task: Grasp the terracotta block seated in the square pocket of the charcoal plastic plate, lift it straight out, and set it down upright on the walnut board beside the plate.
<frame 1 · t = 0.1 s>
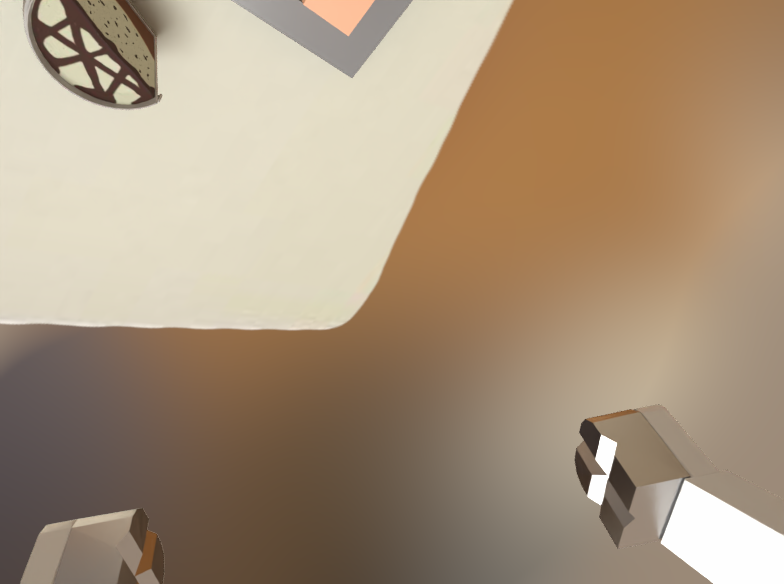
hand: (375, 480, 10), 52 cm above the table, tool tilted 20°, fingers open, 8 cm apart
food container: (93, 5, 50), on the table
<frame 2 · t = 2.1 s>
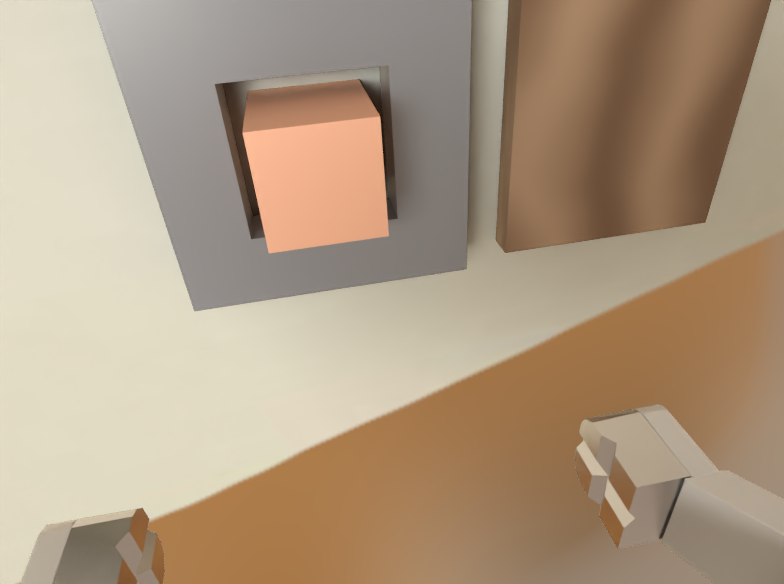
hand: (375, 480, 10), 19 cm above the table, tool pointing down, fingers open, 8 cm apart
pocket plate: (311, 139, 26), on the table
walnut board: (618, 82, 27), on the table
terracotta block: (316, 161, 24), in the pocket plate
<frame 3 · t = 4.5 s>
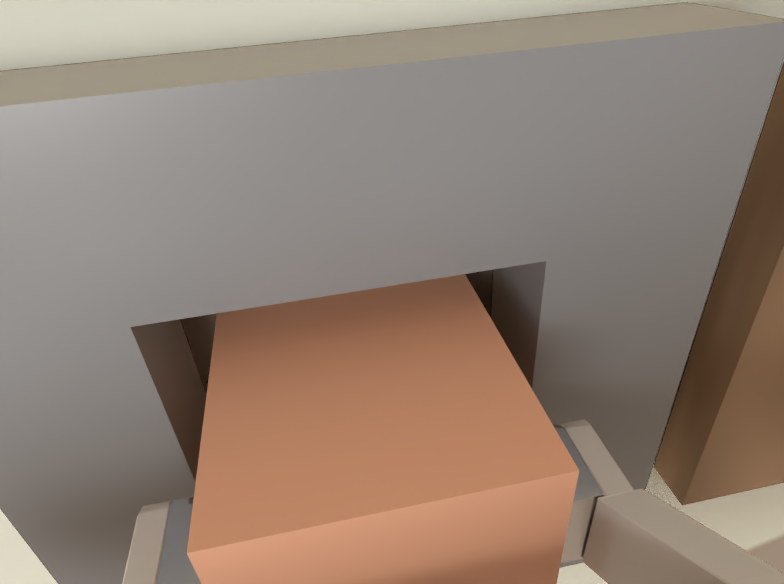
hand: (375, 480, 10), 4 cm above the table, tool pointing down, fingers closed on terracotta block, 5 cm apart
pocket plate: (350, 356, 13), on the table
terracotta block: (370, 453, 11), in the pocket plate, touching gripper
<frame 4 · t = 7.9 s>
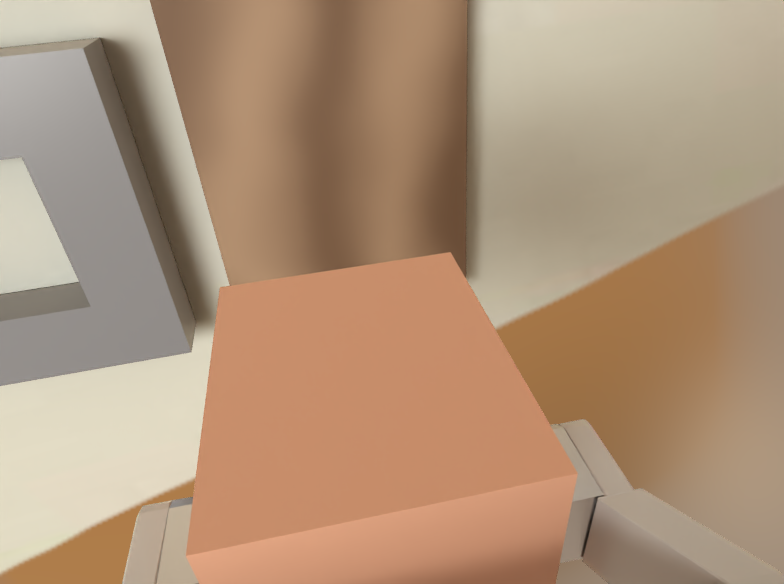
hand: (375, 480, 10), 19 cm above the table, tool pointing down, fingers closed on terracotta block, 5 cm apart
walnut board: (334, 156, 26), on the table
terracotta block: (369, 455, 11), point 18 cm above the table, touching gripper
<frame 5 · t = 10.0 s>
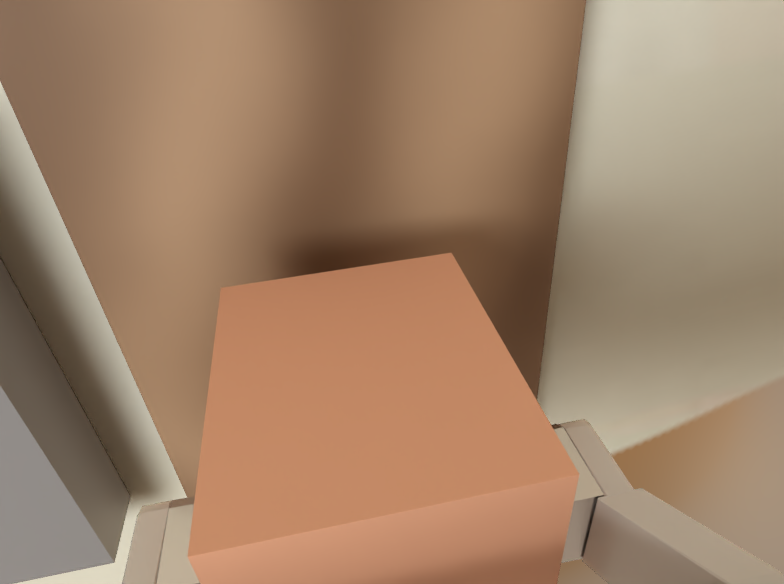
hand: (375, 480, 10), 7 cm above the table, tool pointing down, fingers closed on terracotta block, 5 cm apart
walnut board: (339, 272, 16), on the table
terracotta block: (370, 455, 11), point 7 cm above the table, touching gripper
when the fingers open (6 cm above the table, at t = 11.5 s): terracotta block stays where it is, resting on walnut board.
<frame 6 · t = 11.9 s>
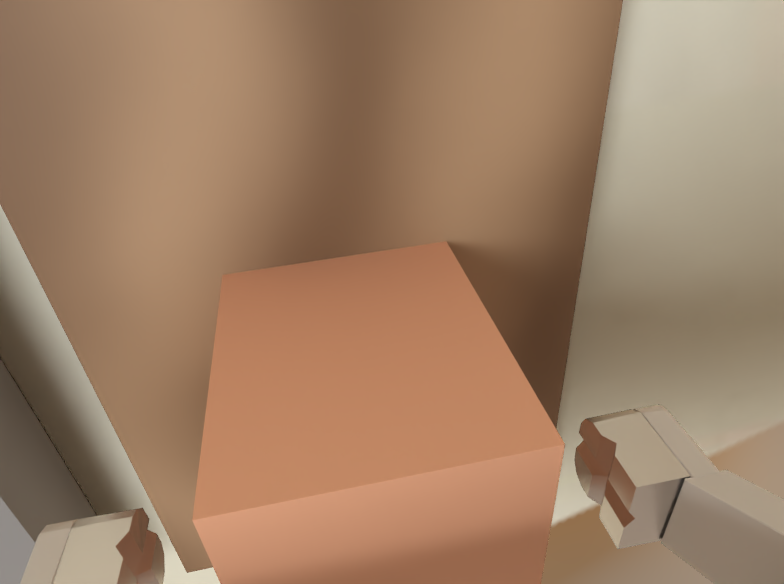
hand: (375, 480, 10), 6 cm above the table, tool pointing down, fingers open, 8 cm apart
walnut board: (340, 310, 15), on the table
terracotta block: (367, 436, 11), on the walnut board, point 4 cm above the table
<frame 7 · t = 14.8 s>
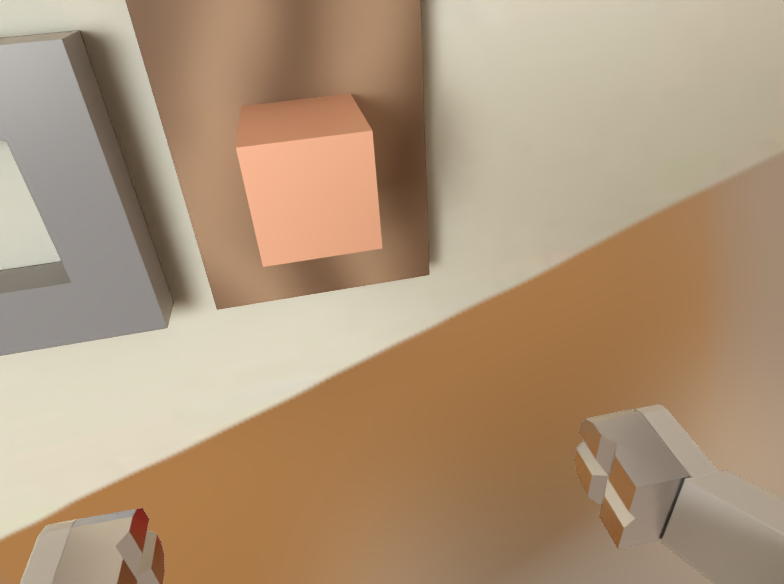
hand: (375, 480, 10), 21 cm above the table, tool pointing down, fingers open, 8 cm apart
walnut board: (302, 144, 28), on the table
terracotta block: (309, 175, 24), on the walnut board, point 4 cm above the table
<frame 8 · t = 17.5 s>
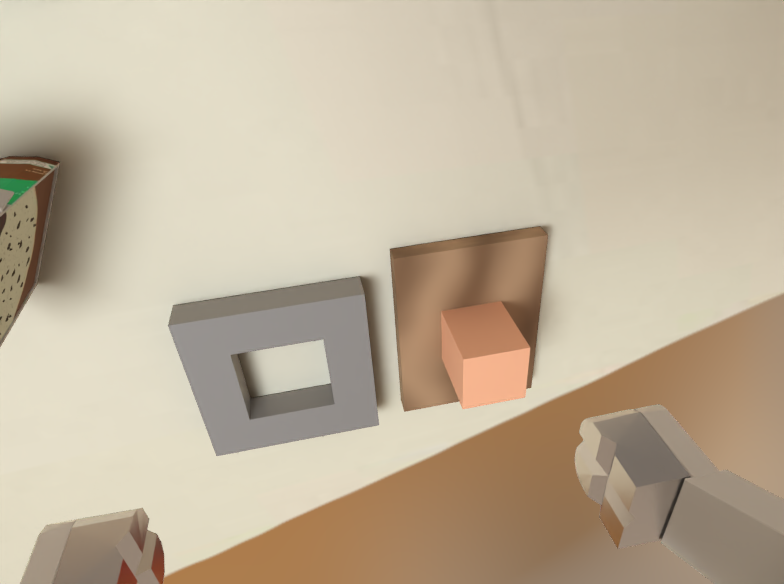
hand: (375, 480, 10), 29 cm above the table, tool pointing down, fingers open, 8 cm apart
pocket plate: (284, 360, 45), on the table
walnut board: (464, 320, 47), on the table
terracotta block: (482, 353, 43), on the walnut board, point 4 cm above the table
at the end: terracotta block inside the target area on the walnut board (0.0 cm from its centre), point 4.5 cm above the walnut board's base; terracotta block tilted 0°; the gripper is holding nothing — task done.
